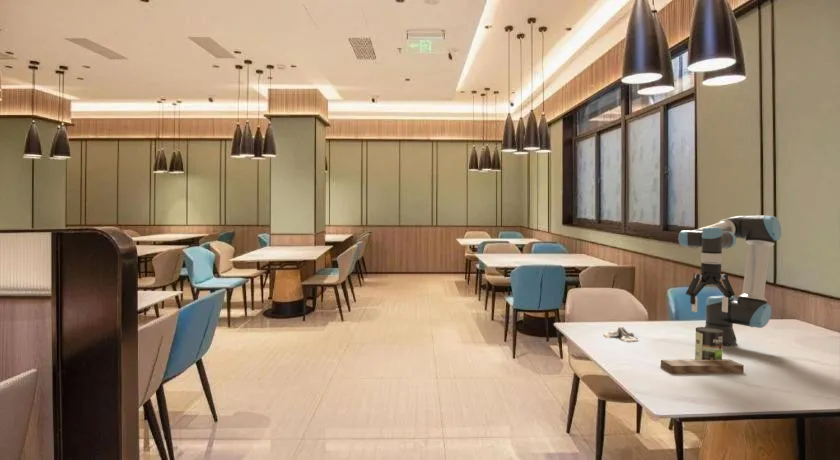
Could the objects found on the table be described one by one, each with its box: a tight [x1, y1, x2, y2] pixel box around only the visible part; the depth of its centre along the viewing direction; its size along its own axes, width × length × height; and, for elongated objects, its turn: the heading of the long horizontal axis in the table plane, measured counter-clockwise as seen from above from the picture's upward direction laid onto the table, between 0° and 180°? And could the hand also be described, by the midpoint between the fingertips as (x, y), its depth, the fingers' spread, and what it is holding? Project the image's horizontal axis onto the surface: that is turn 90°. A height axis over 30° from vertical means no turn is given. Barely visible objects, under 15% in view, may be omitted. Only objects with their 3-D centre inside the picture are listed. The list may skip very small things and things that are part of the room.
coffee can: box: [694, 326, 723, 360], centre depth 209 cm, size 10×10×14 cm
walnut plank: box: [660, 358, 745, 374], centre depth 198 cm, size 30×8×3 cm, turn 93°
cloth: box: [603, 325, 640, 343], centre depth 251 cm, size 22×19×6 cm
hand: (709, 311), depth 208 cm, fingers open, 13 cm apart
